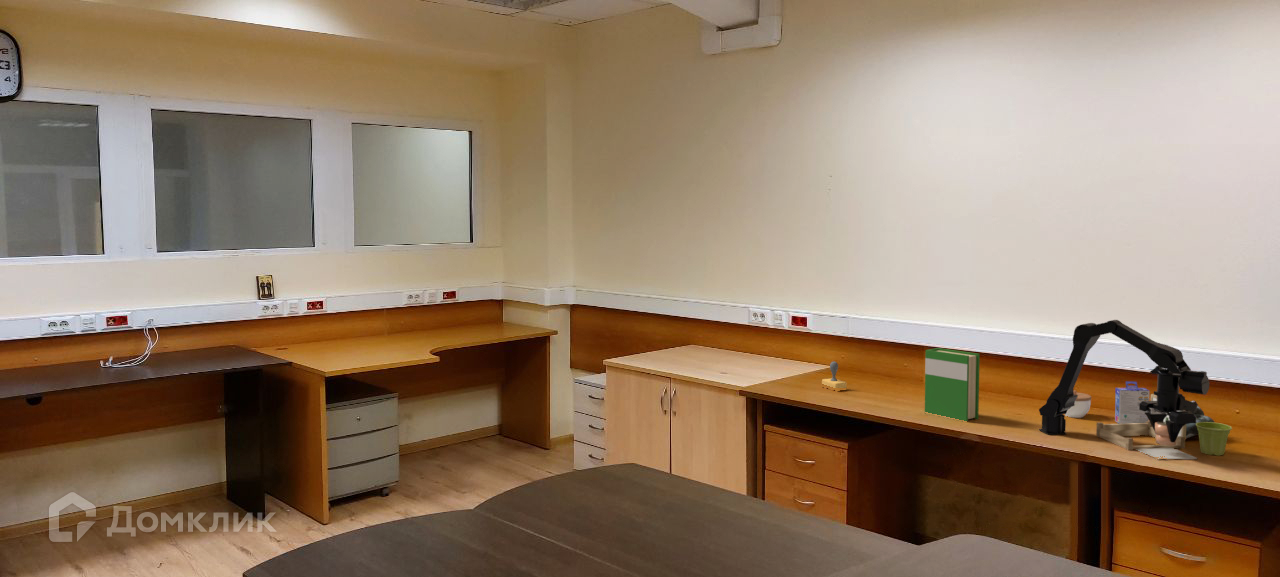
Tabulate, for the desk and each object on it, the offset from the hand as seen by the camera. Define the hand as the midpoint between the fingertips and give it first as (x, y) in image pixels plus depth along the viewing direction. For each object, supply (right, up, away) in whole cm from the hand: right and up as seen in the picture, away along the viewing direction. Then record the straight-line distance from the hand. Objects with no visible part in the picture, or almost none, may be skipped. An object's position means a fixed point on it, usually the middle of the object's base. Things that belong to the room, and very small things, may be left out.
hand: (1165, 439), depth 267 cm
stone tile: (0, -5, 0) cm, 5 cm away
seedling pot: (0, -1, 0) cm, 1 cm away
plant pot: (+15, -5, +1) cm, 16 cm away
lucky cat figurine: (+19, -3, +21) cm, 28 cm away
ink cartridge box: (+12, -1, +40) cm, 42 cm away
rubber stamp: (-79, +3, +105) cm, 131 cm away
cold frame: (0, -3, +15) cm, 15 cm away
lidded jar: (-3, -1, +51) cm, 51 cm away
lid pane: (+10, 0, +15) cm, 18 cm away
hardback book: (-47, -1, +54) cm, 71 cm away
